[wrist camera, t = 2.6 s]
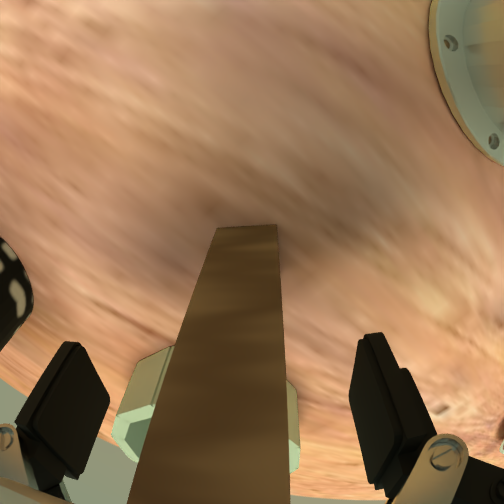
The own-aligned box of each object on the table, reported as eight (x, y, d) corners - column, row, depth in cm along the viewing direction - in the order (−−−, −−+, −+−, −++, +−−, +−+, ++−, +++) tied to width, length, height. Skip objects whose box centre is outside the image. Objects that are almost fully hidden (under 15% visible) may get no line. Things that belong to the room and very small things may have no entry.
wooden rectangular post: (276, 224, 16) (290, 547, 3) (279, 276, 17) (287, 561, 5) (217, 228, 16) (120, 527, 4) (224, 279, 17) (168, 553, 5)
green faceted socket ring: (297, 343, 19) (303, 406, 15) (294, 442, 25) (296, 488, 20) (109, 342, 20) (82, 394, 16) (158, 438, 26) (147, 480, 21)
